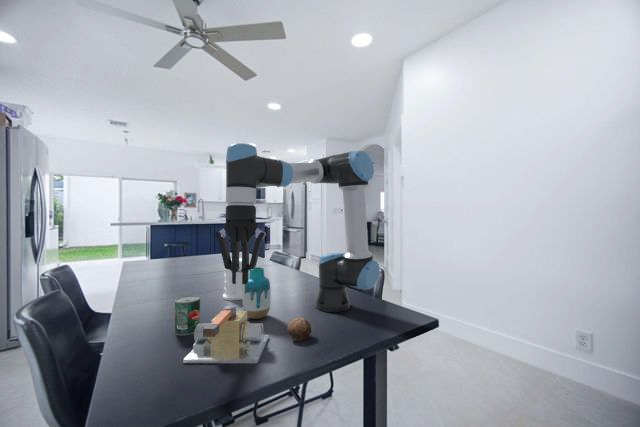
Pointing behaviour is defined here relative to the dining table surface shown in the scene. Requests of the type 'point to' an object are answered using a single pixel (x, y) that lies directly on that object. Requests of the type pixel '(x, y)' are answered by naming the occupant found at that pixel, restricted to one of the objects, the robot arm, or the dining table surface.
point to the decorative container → (230, 284)
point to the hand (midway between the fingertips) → (240, 296)
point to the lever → (219, 321)
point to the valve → (229, 342)
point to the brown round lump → (299, 329)
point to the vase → (257, 294)
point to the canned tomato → (187, 314)
